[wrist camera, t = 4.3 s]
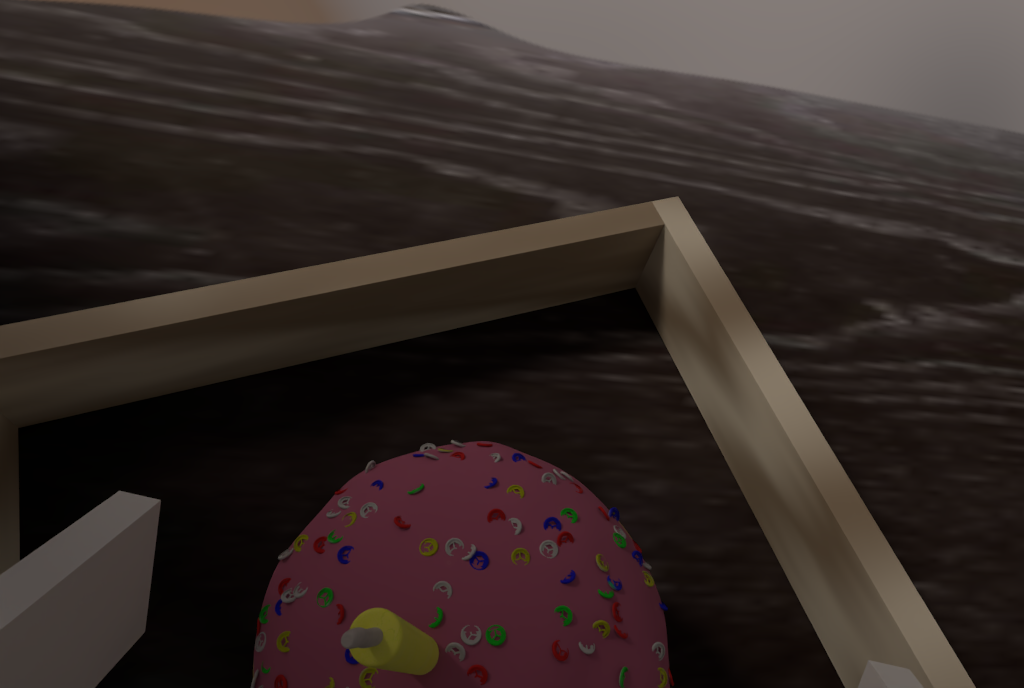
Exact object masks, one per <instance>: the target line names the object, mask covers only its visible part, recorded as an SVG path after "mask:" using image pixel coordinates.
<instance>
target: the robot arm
mask: <svg viewBox="0 0 1024 688" xmlns="http://www.w3.org/2000/svg"><path fill="white" fill-rule="evenodd" d="M160 504H161V500H158V499H154V498H150V497H145V496H141V495H136V494H132V493H127V492H123V491H118V492H117V493H115V494H114V495H113V496H111V497H110V498H108V499H107V500H106V501H104V502H103V503H101V504H100V505H98V506H97V507H96V508H94V509H93V510H91V511H90V512H89V513H87V514H86V515H84V516H83V517H82V518H80V519H79V520H77V521H76V522H74V523H73V524H72V525H70V526H69V527H67V528H66V529H65V530H63V531H62V532H60V533H59V534H57V535H56V536H55V537H53V538H52V539H50V540H49V541H48V542H46V543H45V544H43V545H42V546H40V547H39V548H38V549H36V550H35V551H33V552H32V553H31V554H29V555H28V556H26V557H25V558H23V559H22V560H21V561H19V562H18V563H16V564H15V565H14V566H12V567H11V568H9V569H8V570H7V571H5V572H4V573H2V574H1V575H0V688H95V687H96V686H97V685H98V683H99V682H100V681H101V680H102V679H103V678H104V677H105V676H106V675H107V673H108V672H109V671H110V670H111V669H112V668H113V667H114V666H115V665H116V664H117V662H118V661H119V660H120V659H121V658H122V657H123V656H124V655H125V654H126V652H127V651H128V650H129V649H130V648H131V647H132V646H133V645H134V644H135V642H136V641H137V640H138V639H139V638H140V637H141V636H142V635H143V634H144V633H145V628H146V620H147V612H148V603H149V595H150V587H151V579H152V570H153V562H154V554H155V545H156V537H157V529H158V521H159V512H160ZM858 688H924V687H923V686H922V685H921V684H920V682H919V681H918V680H917V678H916V677H915V676H914V674H913V673H912V672H911V671H910V669H906V668H902V667H898V666H893V665H889V664H884V663H880V662H875V661H871V660H868V662H867V665H866V668H865V670H864V673H863V675H862V678H861V681H860V683H859V686H858Z"/></svg>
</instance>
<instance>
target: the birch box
mask: <svg viewBox="0 0 1024 688" xmlns="http://www.w3.org/2000/svg"><path fill="white" fill-rule="evenodd" d="M631 288H636V290H637V292H638V294H639V296H640V298H641V300H642V301H643V303H644V305H645V307H646V309H647V311H648V313H649V315H650V317H651V319H652V320H653V322H654V324H655V326H656V328H657V330H658V332H659V334H660V336H661V338H662V340H663V341H664V343H665V345H666V347H667V349H668V351H669V353H670V355H671V357H672V359H673V361H674V362H675V364H676V366H677V368H678V370H679V372H680V374H681V376H682V378H683V380H684V381H685V383H686V385H687V387H688V389H689V391H690V393H691V395H692V397H693V399H694V401H695V402H696V404H697V406H698V408H699V410H700V412H701V414H702V416H703V418H704V420H705V421H706V423H707V425H708V427H709V429H710V431H711V433H712V435H713V437H714V439H715V441H716V442H717V444H718V446H719V448H720V450H721V452H722V454H723V456H724V458H725V460H726V462H727V463H728V465H729V467H730V469H731V471H732V473H733V475H734V477H735V479H736V481H737V482H738V484H739V486H740V488H741V490H742V492H743V494H744V496H745V498H746V500H747V502H748V503H749V505H750V507H751V509H752V511H753V513H754V515H755V517H756V519H757V521H758V523H759V524H760V526H761V528H762V530H763V532H764V534H765V536H766V538H767V540H768V542H769V543H770V545H771V547H772V549H773V551H774V553H775V555H776V557H777V559H778V561H779V563H780V564H781V566H782V568H783V570H784V572H785V574H786V576H787V578H788V580H789V582H790V584H791V585H792V587H793V589H794V591H795V593H796V595H797V597H798V599H799V601H800V603H801V604H802V606H803V608H804V610H805V612H806V614H807V616H808V618H809V620H810V622H811V624H812V625H813V627H814V629H815V631H816V633H817V635H818V637H819V639H820V641H821V643H822V645H823V646H824V648H825V650H826V652H827V654H828V656H829V658H830V660H831V662H832V664H833V665H834V667H835V669H836V671H837V673H838V675H839V677H840V679H841V681H842V683H843V685H844V686H845V688H858V686H859V683H860V681H861V678H862V675H863V673H864V670H865V668H866V665H867V662H868V660H871V661H875V662H880V663H884V664H889V665H893V666H898V667H902V668H906V669H910V671H911V672H912V673H913V674H914V676H915V677H916V678H917V680H918V681H919V682H920V684H921V685H922V686H923V687H924V688H976V687H975V686H974V684H973V682H972V681H971V679H970V677H969V676H968V674H967V672H966V671H965V669H964V667H963V666H962V664H961V662H960V661H959V659H958V658H957V656H956V654H955V653H954V651H953V649H952V648H951V646H950V644H949V643H948V641H947V639H946V638H945V636H944V634H943V633H942V631H941V629H940V628H939V626H938V625H937V623H936V621H935V620H934V618H933V616H932V615H931V613H930V611H929V610H928V608H927V606H926V605H925V603H924V601H923V600H922V598H921V596H920V595H919V593H918V592H917V590H916V588H915V587H914V585H913V583H912V582H911V580H910V578H909V577H908V575H907V573H906V572H905V570H904V568H903V567H902V565H901V563H900V562H899V560H898V559H897V557H896V555H895V554H894V552H893V550H892V549H891V547H890V545H889V544H888V542H887V540H886V539H885V537H884V535H883V534H882V532H881V530H880V529H879V527H878V526H877V524H876V522H875V521H874V519H873V517H872V516H871V514H870V512H869V511H868V509H867V507H866V506H865V504H864V502H863V501H862V499H861V497H860V496H859V494H858V493H857V491H856V489H855V488H854V486H853V484H852V483H851V481H850V479H849V478H848V476H847V474H846V473H845V471H844V469H843V468H842V466H841V464H840V463H839V461H838V460H837V458H836V456H835V455H834V453H833V451H832V450H831V448H830V446H829V445H828V443H827V441H826V440H825V438H824V436H823V435H822V433H821V431H820V430H819V428H818V427H817V425H816V423H815V422H814V420H813V418H812V417H811V415H810V413H809V412H808V410H807V408H806V407H805V405H804V403H803V402H802V400H801V398H800V397H799V395H798V394H797V392H796V390H795V389H794V387H793V385H792V384H791V382H790V380H789V379H788V377H787V375H786V374H785V372H784V370H783V369H782V367H781V365H780V364H779V362H778V361H777V359H776V357H775V356H774V354H773V352H772V351H771V349H770V347H769V346H768V344H767V342H766V341H765V339H764V337H763V336H762V334H761V332H760V331H759V329H758V328H757V326H756V324H755V323H754V321H753V319H752V318H751V316H750V314H749V313H748V311H747V309H746V308H745V306H744V304H743V303H742V301H741V299H740V298H739V296H738V295H737V293H736V291H735V290H734V288H733V286H732V285H731V283H730V281H729V280H728V278H727V276H726V275H725V273H724V271H723V270H722V268H721V266H720V265H719V263H718V261H717V260H716V258H715V257H714V255H713V253H712V252H711V250H710V248H709V247H708V245H707V243H706V242H705V240H704V238H703V237H702V235H701V233H700V232H699V230H698V228H697V227H696V225H695V224H694V222H693V220H692V219H691V217H690V215H689V214H688V212H687V210H686V209H685V207H684V205H683V204H682V202H681V200H680V199H679V197H673V198H668V199H663V200H657V201H652V202H647V203H642V204H636V205H631V206H626V207H621V208H615V209H610V210H605V211H600V212H594V213H589V214H584V215H579V216H573V217H568V218H563V219H558V220H552V221H547V222H542V223H537V224H531V225H526V226H521V227H516V228H510V229H505V230H500V231H495V232H489V233H484V234H479V235H474V236H469V237H463V238H458V239H453V240H448V241H442V242H437V243H432V244H427V245H421V246H416V247H411V248H406V249H400V250H395V251H390V252H385V253H379V254H374V255H369V256H364V257H358V258H353V259H348V260H343V261H337V262H332V263H327V264H322V265H316V266H311V267H306V268H301V269H295V270H290V271H285V272H280V273H274V274H269V275H264V276H259V277H253V278H248V279H243V280H238V281H232V282H227V283H222V284H217V285H212V286H206V287H201V288H196V289H191V290H185V291H180V292H175V293H170V294H164V295H159V296H154V297H149V298H143V299H138V300H133V301H128V302H122V303H117V304H112V305H107V306H101V307H96V308H91V309H86V310H80V311H75V312H70V313H65V314H59V315H54V316H49V317H44V318H38V319H33V320H28V321H23V322H17V323H12V324H7V325H2V326H0V575H1V574H2V573H4V572H5V571H7V570H8V569H9V568H11V567H12V566H14V565H15V564H16V563H18V562H19V561H20V532H19V445H18V428H21V427H25V426H29V425H34V424H38V423H43V422H47V421H51V420H56V419H60V418H65V417H69V416H73V415H78V414H82V413H87V412H91V411H95V410H100V409H104V408H109V407H113V406H117V405H122V404H126V403H131V402H135V401H139V400H144V399H148V398H152V397H157V396H161V395H166V394H170V393H174V392H179V391H183V390H188V389H192V388H196V387H201V386H205V385H210V384H214V383H218V382H223V381H227V380H232V379H236V378H240V377H245V376H249V375H253V374H258V373H262V372H267V371H271V370H275V369H280V368H284V367H289V366H293V365H297V364H302V363H306V362H311V361H315V360H319V359H324V358H328V357H333V356H337V355H341V354H346V353H350V352H355V351H359V350H363V349H368V348H372V347H376V346H381V345H385V344H390V343H394V342H398V341H403V340H407V339H412V338H416V337H420V336H425V335H429V334H434V333H438V332H442V331H447V330H451V329H456V328H460V327H464V326H469V325H473V324H477V323H482V322H486V321H491V320H495V319H499V318H504V317H508V316H513V315H517V314H521V313H526V312H530V311H535V310H539V309H543V308H548V307H552V306H557V305H561V304H565V303H570V302H574V301H579V300H583V299H587V298H592V297H596V296H600V295H605V294H609V293H614V292H618V291H622V290H627V289H631Z"/></svg>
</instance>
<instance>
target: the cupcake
mask: <svg viewBox="0 0 1024 688" xmlns="http://www.w3.org/2000/svg"><path fill="white" fill-rule="evenodd" d="M451 443H453V444H452V445H445V446H439V447H436V446H435V445H434V444H431V443H427V444H424V445H422V446H421V448H420V451H417V452H413V453H410V454H406V455H403V456H400V457H396V458H393V459H390V460H387V461H385V462H382V463H379V464H377V465H376V463H375V461H370V462H369V463H368V465H367V467H366V470H364V471H363V472H361V473H359V474H358V475H356V476H355V477H353V478H352V479H351V480H350V481H348V482H347V483H346V484H345V485H344V486H343V487H342V488H341V489H340V490H338V491H336V492H335V495H334V496H333V497H332V498H331V500H330V501H329V502H328V503H327V504H326V505H325V507H324V508H323V509H322V510H321V511H320V512H319V513H318V514H317V516H316V517H315V518H314V519H313V520H312V521H311V522H310V523H309V524H308V526H307V527H306V528H305V529H304V530H303V531H302V532H301V534H300V535H299V536H298V537H297V538H296V540H295V541H294V542H293V543H292V545H291V546H290V547H289V549H287V550H285V551H284V552H282V553H281V554H280V555H279V556H278V559H279V560H280V562H279V564H278V565H277V567H276V569H275V571H274V573H273V576H272V578H271V580H270V583H269V586H268V588H267V591H266V594H265V598H264V601H263V605H262V609H261V612H260V615H259V618H258V621H257V635H256V641H255V648H254V661H253V680H252V684H251V688H670V683H671V685H672V686H673V685H674V682H673V679H672V675H671V672H670V669H669V658H668V644H667V630H666V623H665V617H664V612H663V610H665V611H667V610H668V608H667V606H666V605H665V604H664V603H663V602H662V601H661V600H660V596H659V593H658V590H657V588H656V585H655V583H654V580H653V578H652V576H651V573H650V571H649V570H650V569H651V566H650V565H649V564H648V563H647V562H646V561H644V559H643V558H642V555H641V553H642V550H641V548H640V547H639V546H638V544H637V543H636V542H635V541H634V540H632V538H631V537H630V535H629V534H628V532H627V531H626V530H625V528H624V527H623V526H622V524H621V523H620V522H619V511H618V510H617V508H614V507H613V508H611V509H610V510H608V509H607V507H606V506H605V505H604V504H603V503H602V502H601V501H600V500H599V499H598V498H597V497H596V496H595V495H594V494H593V493H592V492H591V491H590V490H589V489H588V488H586V487H585V486H584V485H583V484H582V483H580V482H579V481H578V480H576V479H575V478H574V477H572V476H571V475H569V474H568V473H566V472H564V471H563V470H561V469H559V468H557V467H555V466H553V465H551V464H549V463H547V462H545V461H543V460H540V459H538V458H535V457H533V456H530V455H528V454H525V453H523V452H520V451H518V450H515V449H513V448H510V447H508V446H505V445H502V444H499V443H495V442H488V441H477V442H468V443H460V442H458V441H455V440H451ZM425 447H428V449H425V450H424V448H425ZM429 447H431V448H429ZM370 465H371V467H370ZM369 467H370V468H369ZM613 512H615V513H616V514H615V515H613V514H612V513H613ZM615 516H616V518H615Z"/></svg>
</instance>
